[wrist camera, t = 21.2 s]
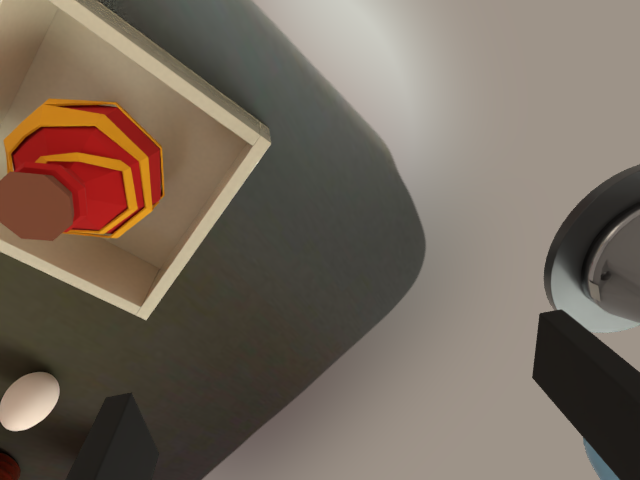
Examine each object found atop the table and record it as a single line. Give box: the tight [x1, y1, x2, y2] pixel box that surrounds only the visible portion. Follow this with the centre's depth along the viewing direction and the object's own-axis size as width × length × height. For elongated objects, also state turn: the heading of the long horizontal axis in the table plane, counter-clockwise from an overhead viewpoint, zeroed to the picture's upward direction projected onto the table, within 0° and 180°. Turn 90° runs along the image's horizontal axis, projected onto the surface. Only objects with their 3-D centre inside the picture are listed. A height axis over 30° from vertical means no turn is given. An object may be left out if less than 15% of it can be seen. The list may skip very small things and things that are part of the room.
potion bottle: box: [0, 98, 165, 241], centre depth 28 cm, size 10×10×15 cm
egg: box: [0, 372, 60, 431], centre depth 41 cm, size 5×5×7 cm
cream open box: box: [0, 0, 271, 320], centre depth 32 cm, size 19×19×8 cm
